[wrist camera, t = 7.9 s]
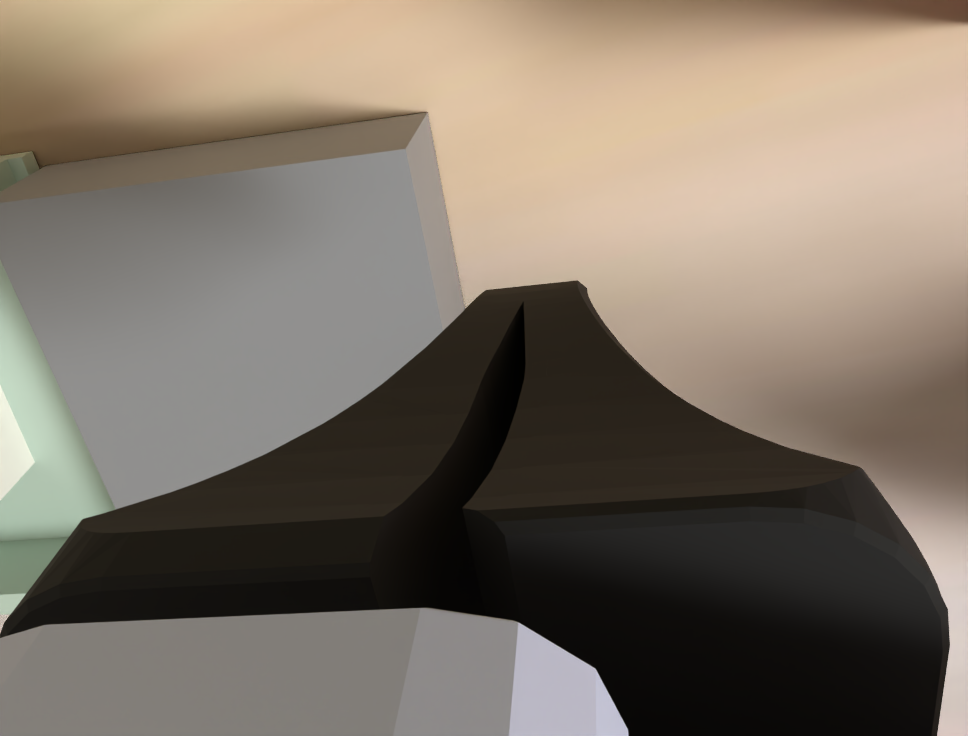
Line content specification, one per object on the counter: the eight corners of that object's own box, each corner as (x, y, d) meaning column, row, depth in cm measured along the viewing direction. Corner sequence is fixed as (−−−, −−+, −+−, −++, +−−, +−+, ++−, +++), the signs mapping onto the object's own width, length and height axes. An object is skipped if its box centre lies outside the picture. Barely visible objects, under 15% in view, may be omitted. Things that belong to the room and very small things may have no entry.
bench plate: (502, 509, 26) (493, 580, 24) (195, 529, 28) (156, 597, 26) (428, 112, 21) (405, 149, 18) (45, 165, 22) (-25, 206, 20)
